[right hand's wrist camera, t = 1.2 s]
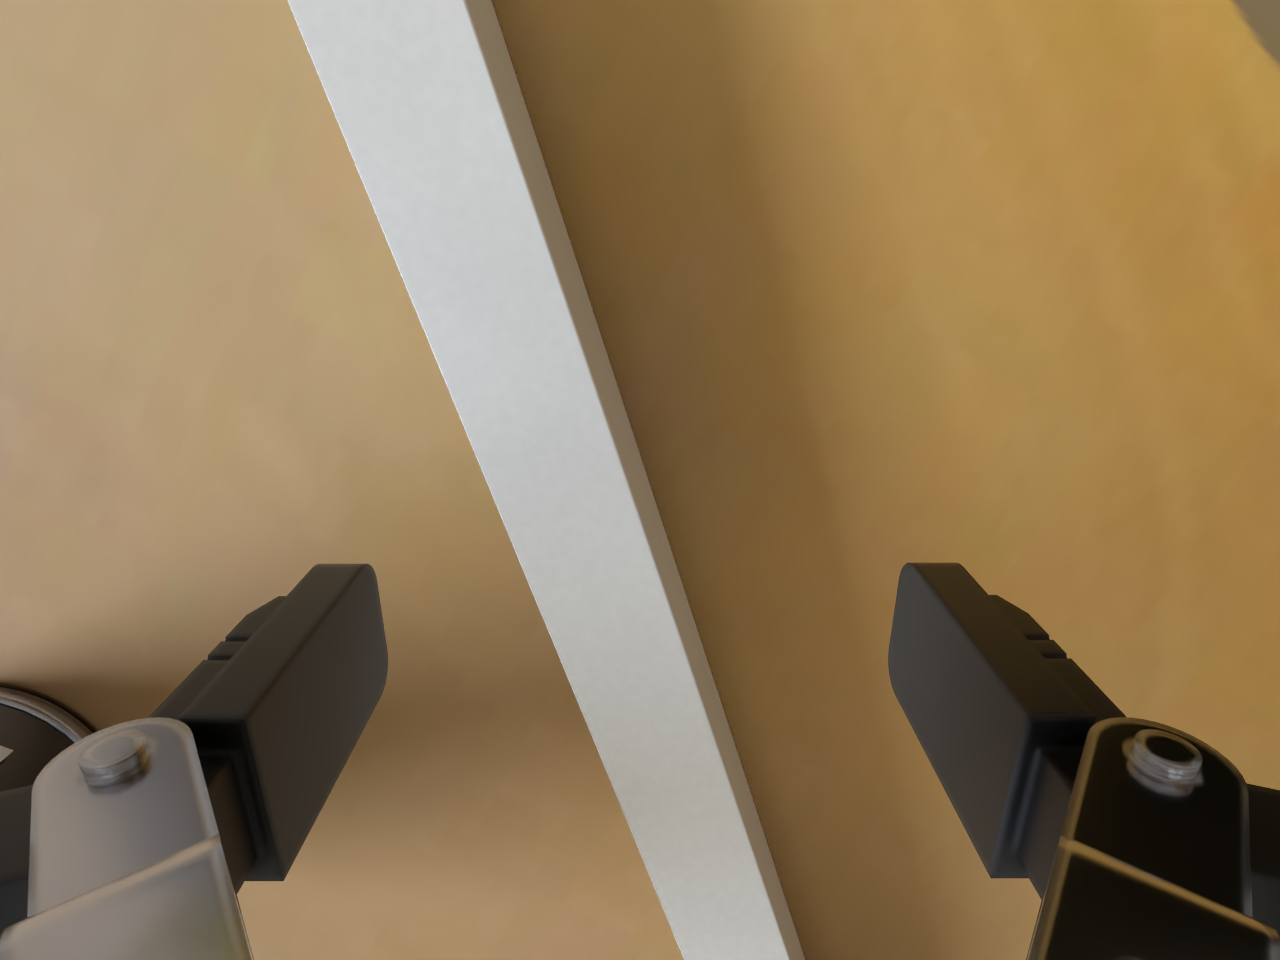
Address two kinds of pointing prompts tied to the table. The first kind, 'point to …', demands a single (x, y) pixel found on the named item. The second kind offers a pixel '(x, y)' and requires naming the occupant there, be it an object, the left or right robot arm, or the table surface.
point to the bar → (551, 439)
